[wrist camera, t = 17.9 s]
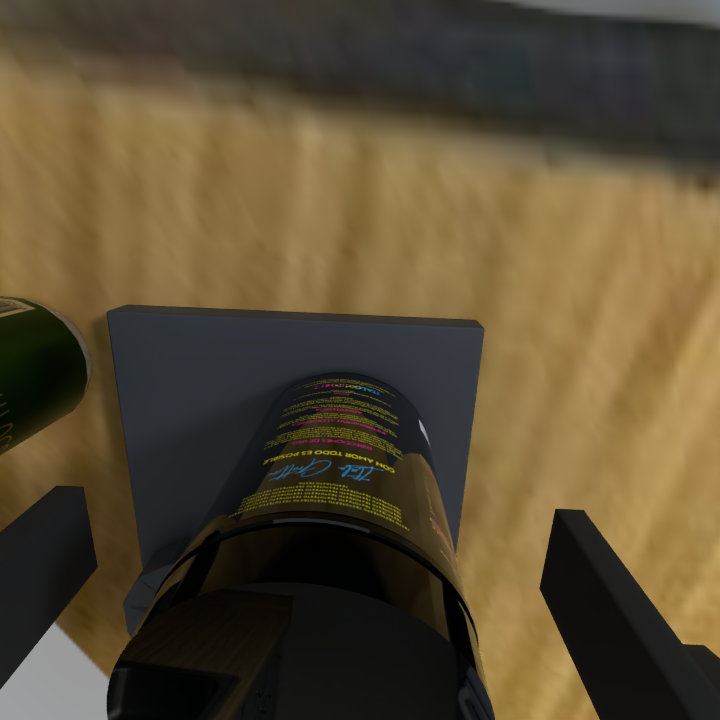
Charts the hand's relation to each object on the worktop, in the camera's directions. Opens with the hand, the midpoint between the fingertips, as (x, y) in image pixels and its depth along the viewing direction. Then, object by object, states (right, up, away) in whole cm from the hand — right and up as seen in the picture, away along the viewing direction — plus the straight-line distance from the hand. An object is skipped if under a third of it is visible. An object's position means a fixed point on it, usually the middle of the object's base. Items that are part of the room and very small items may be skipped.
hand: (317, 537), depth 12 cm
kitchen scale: (-1, -1, +7) cm, 8 cm away
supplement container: (+1, +2, +5) cm, 6 cm away
